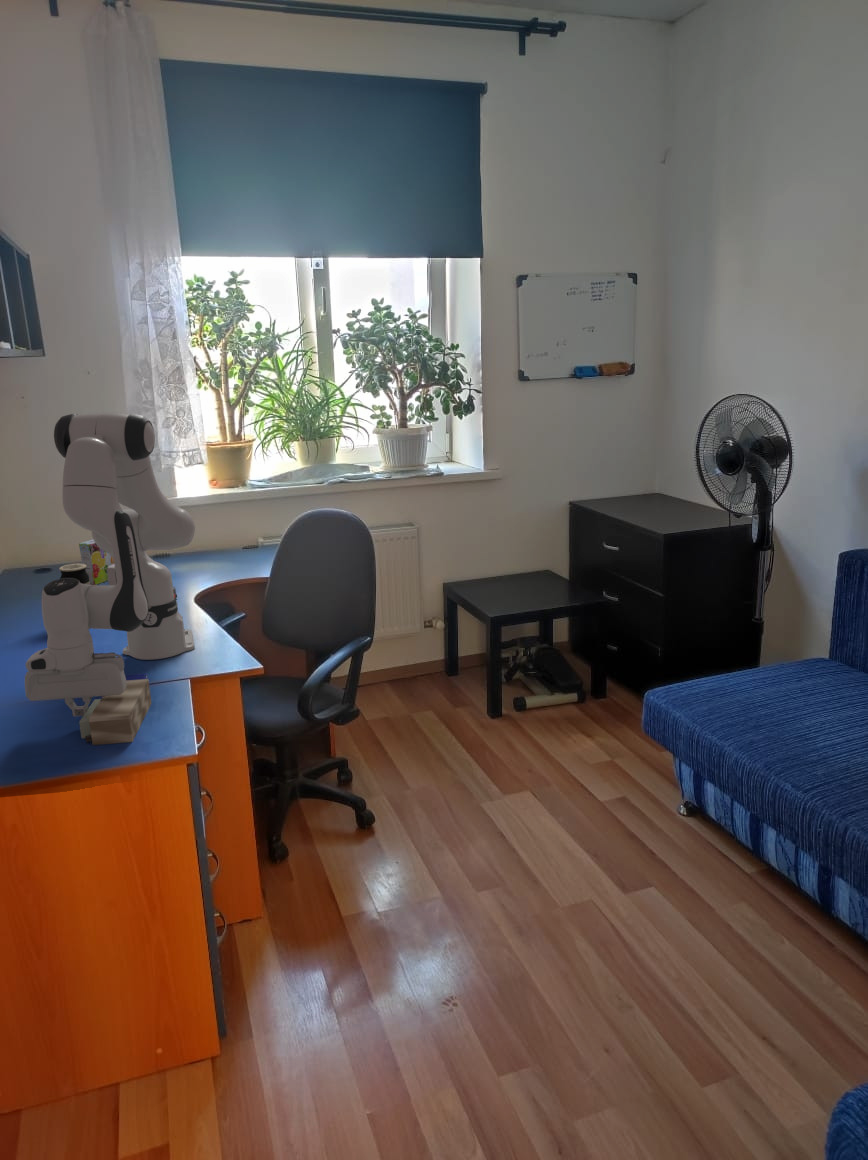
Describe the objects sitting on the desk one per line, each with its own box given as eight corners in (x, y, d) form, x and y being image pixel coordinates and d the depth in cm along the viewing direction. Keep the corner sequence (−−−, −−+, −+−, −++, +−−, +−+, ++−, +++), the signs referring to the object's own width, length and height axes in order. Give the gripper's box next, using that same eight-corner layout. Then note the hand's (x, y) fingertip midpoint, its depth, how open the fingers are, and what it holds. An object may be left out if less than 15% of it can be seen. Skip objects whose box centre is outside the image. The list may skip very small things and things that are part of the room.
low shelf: (106, 706, 194) (103, 682, 193) (151, 703, 195) (148, 678, 194) (82, 745, 175) (78, 719, 173) (132, 741, 176) (128, 715, 174)
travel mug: (85, 629, 249) (76, 570, 244) (61, 628, 251) (52, 569, 246) (100, 620, 257) (92, 563, 252) (77, 620, 258) (68, 562, 254)
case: (97, 715, 190) (94, 699, 189) (138, 713, 191) (136, 696, 190) (81, 739, 179) (79, 722, 177) (125, 736, 179) (123, 719, 178)
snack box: (129, 569, 317) (123, 530, 313) (140, 570, 315) (135, 531, 311) (84, 584, 299) (78, 542, 295) (95, 585, 297) (89, 543, 293)
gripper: (125, 646, 184) (133, 705, 188) (27, 653, 182) (37, 712, 186) (118, 657, 178) (127, 717, 182) (17, 663, 176) (27, 724, 180)
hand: (81, 715), depth 184 cm, fingers closed
